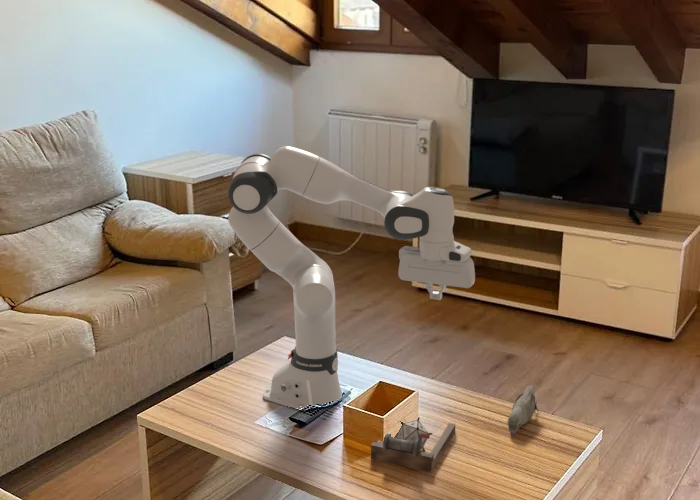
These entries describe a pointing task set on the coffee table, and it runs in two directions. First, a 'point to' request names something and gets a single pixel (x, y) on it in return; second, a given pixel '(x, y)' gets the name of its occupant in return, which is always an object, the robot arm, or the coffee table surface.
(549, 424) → the coffee table surface
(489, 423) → the coffee table surface
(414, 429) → the game die
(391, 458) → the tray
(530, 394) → the decorative bird
